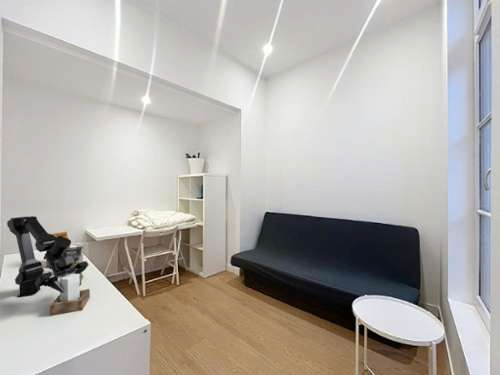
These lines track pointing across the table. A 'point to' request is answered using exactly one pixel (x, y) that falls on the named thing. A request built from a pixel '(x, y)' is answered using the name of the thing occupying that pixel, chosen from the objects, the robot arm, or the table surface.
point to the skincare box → (70, 287)
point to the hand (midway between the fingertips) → (72, 288)
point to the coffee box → (70, 252)
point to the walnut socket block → (70, 304)
